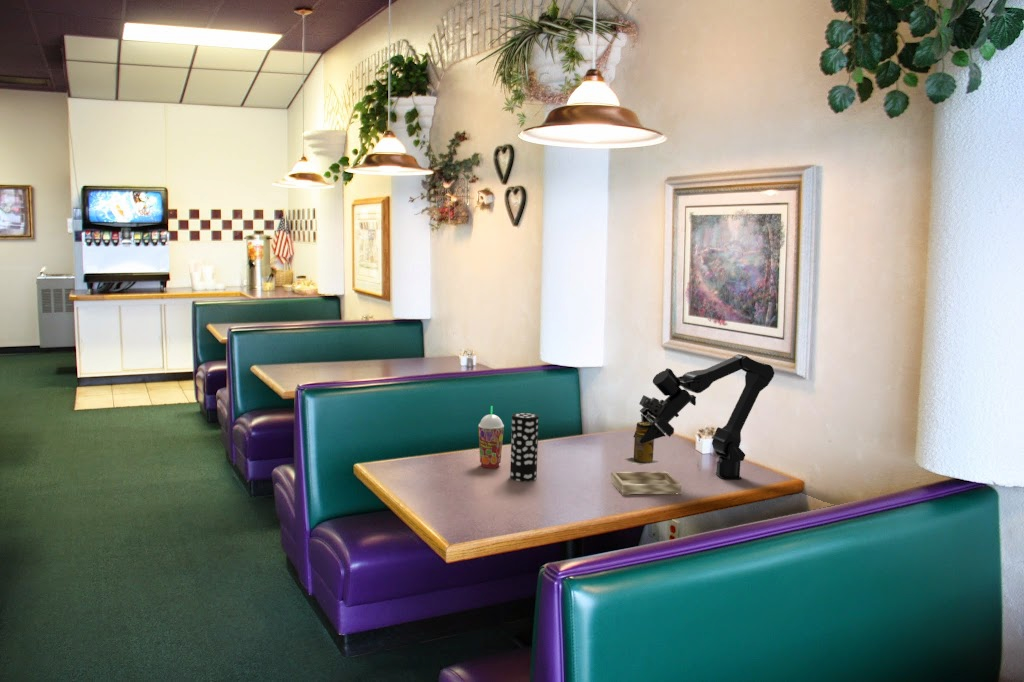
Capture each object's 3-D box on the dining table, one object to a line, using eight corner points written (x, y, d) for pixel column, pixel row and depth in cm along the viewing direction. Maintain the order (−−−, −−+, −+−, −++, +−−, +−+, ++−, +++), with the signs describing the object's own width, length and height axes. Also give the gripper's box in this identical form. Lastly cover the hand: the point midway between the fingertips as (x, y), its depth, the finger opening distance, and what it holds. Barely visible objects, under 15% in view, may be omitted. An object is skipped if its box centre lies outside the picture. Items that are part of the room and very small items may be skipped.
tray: (666, 480, 274) (667, 471, 273) (680, 494, 260) (681, 484, 260) (610, 481, 271) (611, 472, 271) (622, 495, 258) (622, 485, 257)
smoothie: (473, 467, 283) (474, 407, 280) (483, 461, 291) (485, 402, 288) (496, 470, 280) (498, 409, 277) (506, 464, 288) (508, 405, 285)
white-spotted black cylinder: (540, 476, 275) (542, 414, 272) (530, 483, 267) (532, 419, 265) (516, 472, 278) (518, 411, 276) (505, 479, 271) (507, 416, 268)
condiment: (658, 462, 270) (660, 424, 269) (637, 465, 266) (639, 427, 264) (643, 456, 276) (645, 419, 275) (622, 459, 272) (624, 422, 270)
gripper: (647, 381, 278) (612, 415, 278) (665, 392, 260) (628, 429, 259) (669, 405, 280) (635, 439, 280) (689, 418, 262) (652, 454, 262)
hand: (637, 440), depth 270 cm, fingers closed on condiment, 6 cm apart
